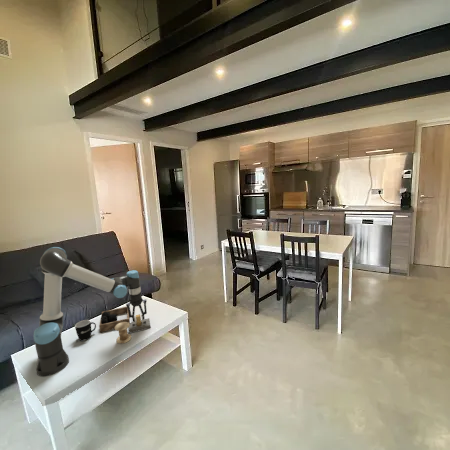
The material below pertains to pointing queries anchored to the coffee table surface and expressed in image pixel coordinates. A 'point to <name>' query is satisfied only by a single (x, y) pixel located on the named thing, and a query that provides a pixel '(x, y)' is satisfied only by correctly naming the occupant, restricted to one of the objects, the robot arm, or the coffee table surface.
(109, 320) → the film camera
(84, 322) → the mug
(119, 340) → the wooden spool
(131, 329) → the board
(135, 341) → the coffee table surface
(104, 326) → the caddy
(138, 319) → the block
